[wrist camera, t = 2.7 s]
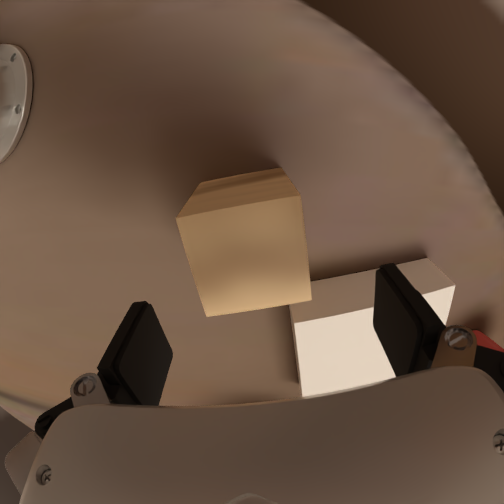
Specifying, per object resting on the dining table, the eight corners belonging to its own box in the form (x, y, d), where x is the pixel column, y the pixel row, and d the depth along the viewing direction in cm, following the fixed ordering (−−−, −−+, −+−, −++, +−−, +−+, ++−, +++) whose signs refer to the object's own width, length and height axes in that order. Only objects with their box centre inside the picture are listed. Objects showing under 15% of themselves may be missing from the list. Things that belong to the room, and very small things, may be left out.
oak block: (200, 182, 21) (175, 218, 14) (281, 167, 20) (300, 195, 13) (218, 254, 23) (206, 316, 16) (292, 241, 23) (311, 300, 16)
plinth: (286, 286, 25) (294, 323, 20) (427, 257, 24) (455, 285, 19) (298, 383, 31) (304, 418, 26) (408, 357, 30) (424, 386, 25)
